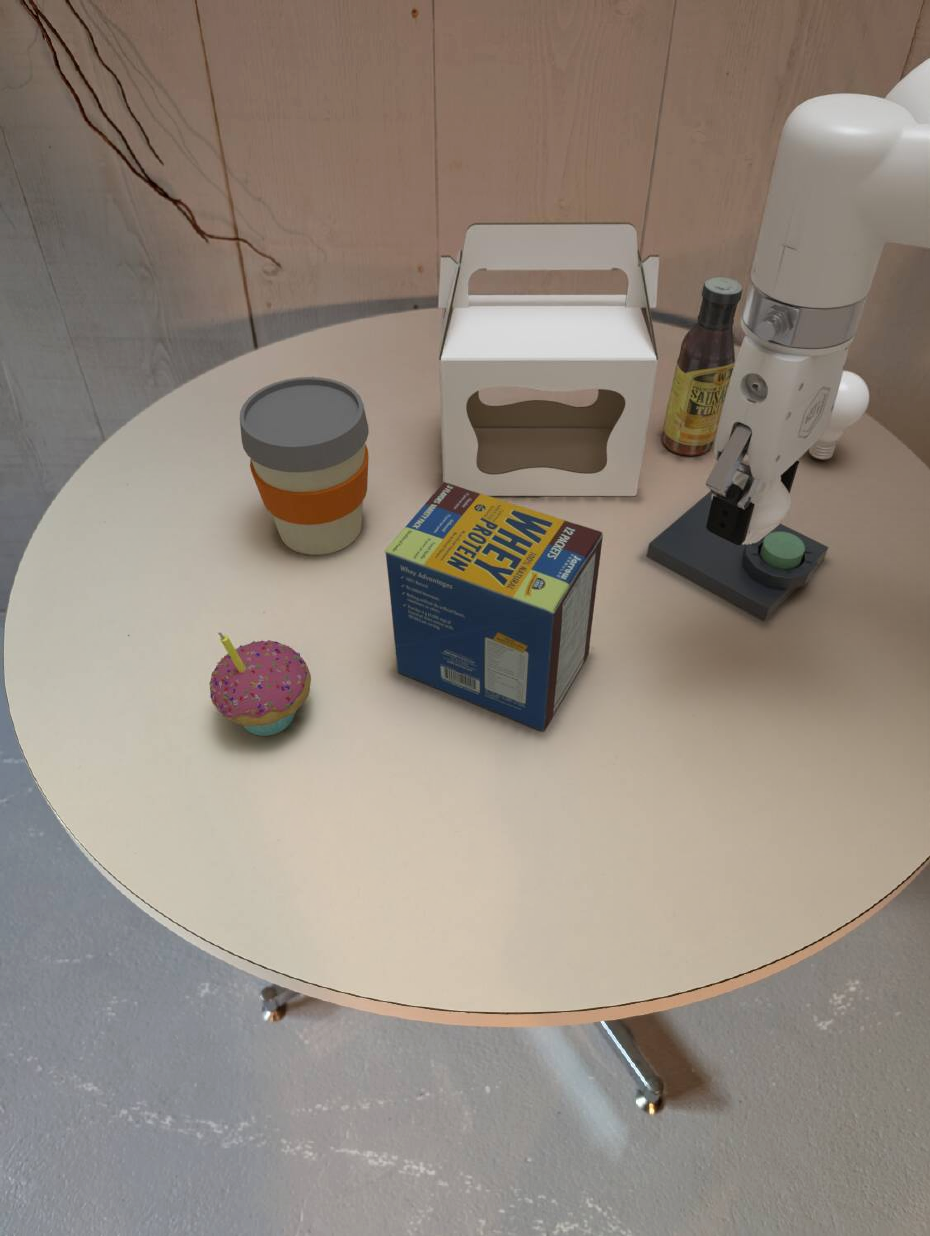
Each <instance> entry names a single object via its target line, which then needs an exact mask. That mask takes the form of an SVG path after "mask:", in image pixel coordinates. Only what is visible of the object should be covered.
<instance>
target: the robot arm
mask: <svg viewBox="0 0 930 1236" xmlns="http://www.w3.org/2000/svg"><path fill="white" fill-rule="evenodd" d="M764 206H765V207H764V211H763V216H762V220H761V225H760V230H759V234H758V239H757V243H756V249H755V253H754V256H753V257H754V258H753V261H752V265H751V267H752V268H751V272H750V276H749V280H748V285H747V290H746V294H745V299H744V303H743V308H742V313H741V317H740V327H741V330H742V331H743V334H745V335H744V337H743V340H742V342H741V346H740V349H739V351H738V355H737V358H736V359H735V364H734V367H733V371H732V375H731V379H730V383H729V386H728V390H727V393H726V397H725V400H724V404H723V408H722V412H721V416H720V420H719V424H718V429H717V433H716V436H715V439H714V447H713V454H714V455H713V456H714V459H715V461H716V462H715V464H714V466H713V468H712V470H711V472H710V474H709V475H708V477H707V479H706V482H705V486H706V487H707V488H708V489H709V490H710V491H711V492H712V495H713V498H712V503H711V507H710V511H709V516H708V520H707V525H706V528H707V530H708V531H709V532H711V533H713V534H715V535H717V536H719V537H721V538H723V539H725V540H727V541H729V542H732V543H734V544H736V545H741V544H742V543H743V542H744V541H745V539H746V535H747V531H748V528H749V524H750V520H751V517H752V513H753V509H754V506H755V504H753V503H752V502H751V499H752V497H753V495H754V492H755V490H756V488H757V485H758V483H759V481H760V480H761V482H764V483H767V482H770V481H773V480H775V479H777V478H778V477H779V476H781V482H782V483H783V484H784V486H785V487H786V489H787V490H788V493H789V495H790V494H791V490H792V487H793V484H794V480H795V477H796V474H797V471H798V467H799V464H800V460H799V459H800V458H801V457H803V455H805V453H806V452H807V451H809V449H810V447H811V446H812V445H813V444H814V443H815V442H816V441H817V440H818V439H819V438H820V437H821V436H822V435H823V433H824V432H825V430H826V429H827V427H828V425H829V422H830V419H831V415H832V412H833V408H834V405H835V401H836V397H837V394H838V390H839V386H840V382H841V378H842V374H843V371H845V366H846V361H847V358H848V353H849V349H850V345H851V344H852V343H853V342H854V340H855V337H856V334H857V331H858V328H859V325H860V322H861V318H862V315H863V312H864V309H865V306H866V303H867V299H868V296H869V294H870V289H871V286H872V283H873V280H874V278H875V275H876V271H877V269H878V265H879V262H880V258H881V256H882V253H883V249H884V246H885V244H887V243H891V244H892V243H893V244H897V245H898V244H900V245H905V246H911V247H918V248H924V249H930V57H929V58H927V59H926V60H924V61H923V62H922V63H920V64H919V65H918V66H916V67H915V68H913V69H912V70H911V71H910V72H909V73H907V75H905V76H904V77H903V78H902V79H901V80H899V82H897V83H896V84H895V85H894V86H893V88H891V90H890V91H889V92H888V93H887V95H886V96H884V98H883V97H879V96H875V95H870V94H861V93H832V94H825V95H819V96H815V97H813V98H809V99H807V100H805V101H803V102H802V103H801V104H799V105H797V106H796V107H795V108H794V109H793V110H792V111H791V113H790V114H789V115H788V117H787V119H786V120H785V122H784V125H783V127H782V131H781V135H780V138H779V142H778V147H777V152H776V156H775V161H774V165H773V171H772V175H771V179H770V183H769V188H768V193H767V198H766V202H765V205H764ZM746 456H747V458H748V461H749V463H748V462H746V460H744V458H745V457H746ZM736 471H740V472H742V473H744V474H746V475H749V477H748V479H747V482H746V484H745V486H744V489H743V490H742V489H741V488H740V487H739V486H738V485H736V484H734V482H733V477H734V474H735V473H736Z"/></svg>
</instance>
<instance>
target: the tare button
mask: <svg viewBox="0 0 930 1236" xmlns="http://www.w3.org/2000/svg"><path fill="white" fill-rule="evenodd" d="M804 551H805V546H804V543H803V542H802V541H801V539H799V538H798V537H797V536H795V535H793V534H790V533H787V532H773V533H770V534H768V535H767V536H766V537H765V538H764V540H763V544H762V547H761V550H760V555H761V558H762V559H763V561H764V562H765V563H766V564H768V565H770V566H772V567H774V568H778V569H785V570H786V569H792V568H795V567H797V566H798V565H799V564H800V562H801V560H802V557H803V554H804Z"/></svg>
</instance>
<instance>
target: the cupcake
mask: <svg viewBox="0 0 930 1236" xmlns="http://www.w3.org/2000/svg"><path fill="white" fill-rule="evenodd" d="M217 634H218V635H219V636H220V640H219V641H220V642H221V644H222V645H223V648H224V649H225V651H226V653H227V654H226V655H224V656H223V657H221V658H220V660H219V661H218V662H217V663H216V666H215V668H214V670H213V671H212V672H211V676H210V680H209V684H208V686H209V691H210V696H209V697H210V699H211V702H212V704H213V706H214V707H215V709H216V710H217V711H218V713H220V715H221V716H222V717H223V718H225V719H227V720H230V721H232V722H234V723H236V724H239V725H241V726H243V728H244V729H245V730H246V731H247V732H249V733H250V734H253V735H256V736H259V737H260V736H261V737H267V736H268V737H269V736H273V735H276V734H279V733H281V732H282V731H284V730H285V729H287V728H288V727H289V726H290V725H291V724H292V723H293V720H294V717H295V715H296V712H297V711H298V710H299V708H301V706H302V705H303V704H304V703H305V701H306V700H307V699H308V697H309V695H310V692H311V682H312V676H311V675H312V674H311V672H310V669H309V666H308V664H307V663H306V661H305V659H304V658H303V657H302V656H301V653H300V652H297V651H296V650H295V649H293V648H292V647H290V646H289V645H287V644H284V643H281V642H279V641H274V640H269V639H267V640H263V639H261V640H260V641H259V640H257V641H255V640H253V641H252V642H250V643H247V644H245V645H239V647H236V648H235V645H233V643H232V641H231V639H230V637H229V636H228V635H226V634H225V635H223V634H222V632H220V631H218V632H217Z"/></svg>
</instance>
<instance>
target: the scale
mask: <svg viewBox="0 0 930 1236" xmlns="http://www.w3.org/2000/svg"><path fill="white" fill-rule="evenodd" d="M711 503H712V492H711V490H710V491H709V492H707V493H706V494H705V495H703V497H702V498H701V499H699V500H698V501H697V502H696V503H695V504H693V505H692V506H691V507H690V508H689V509H688V510H687V511H685V513H683V514H682V515H681V516H680V517H678V518H677V519H676V520H674V522H672V523H671V524H670V525H669V526H668V527H667V528H665V529H664V530H663V531H662V532H661V533H660V534H658V535H657V536H656V537H655V538H653V539H652V540H651V541H650V542H649V543H648V546H647V547H648V548H647V553H646V557H647V558H648V559H650V560H652V561H654V562H656V563H658V564H660V565H662V566H663V567H665V568H667V569H668V570H670V571H672V572H674V573H676V574H678V575H679V576H681V577H683V578H685V579H687V580H688V581H690V582H692V583H694V584H696V585H698V586H699V587H701V588H703V589H705V590H706V591H708V592H710V593H712V594H713V595H716V596H717V597H719V598H721V599H723V600H725V601H727V602H728V603H730V604H732V605H734V606H736V607H738V608H739V609H741V610H743V611H744V612H747V613H748V614H750V615H752V616H753V617H755V618H757V619H759V620H761V621H763V622H766V621H767V620H768V619H769V618H770V617H771V616H772V615H773V614H774V613H775V612H776V610H778V609H779V607H781V605H782V604H783V603H784V602H785V601H786V600H787V599H788V598H789V597H790V596H791V595H792V594H793V593H794V592H795V591H796V590H797V588H801V587H804V586H805V585H807V583H808V582H809V581H810V580H811V579H812V578H813V577H814V575H815V572H816V569H817V568H818V567H819V566H820V565H821V564H822V563H823V561H824V560H825V557H826V555H827V553H828V550H829V546H827V545H826V544H823V543H821V542H820V541H817V540H815V539H813V538H811V537H808V536H806V535H805V534H802V533H801V532H799V531H796V530H795V529H792V528H790V527H788V526H787V525H784V524H782V523H780V524H779V525H778V526H777V527H776V528H775V529H773V530H772V531H771V532H770V533H773V532H787V533H790V534H793V535H795V536H797V537H798V538H799V539H801V541H802V542H803V543H804V546H805V551H804V554H803V557H802V560H801V562H800V564H799V565H798V566H797V567H795V568H792V569H786V570H785V569H778V568H774V567H772V566H770V565H768V564H766V563H765V562H764V561H763V559H762V558H761V555H760V550H761V547H762V544H763V540H764V538H765V537H766V536H767V535H768V534H770V533H768V534H767V535H766V536H765V537H763V538H762V539H761V540H759V541H758V542H756V543H752V544H748V545H746V544H744V545H743V544H741V545H736V544H734V543H732V542H729V541H727V540H725V539H723V538H721V537H719V536H717V535H715V534H713V533H711V532H709V531H708V530H707V528H706V525H707V520H708V516H709V511H710V507H711Z"/></svg>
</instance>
